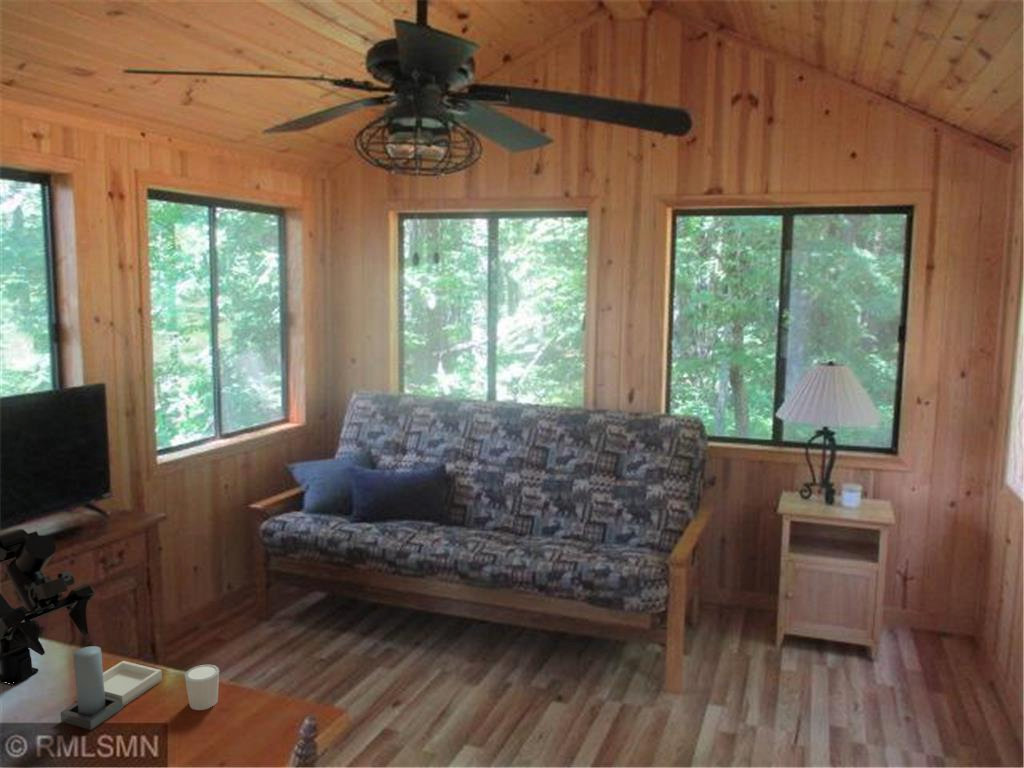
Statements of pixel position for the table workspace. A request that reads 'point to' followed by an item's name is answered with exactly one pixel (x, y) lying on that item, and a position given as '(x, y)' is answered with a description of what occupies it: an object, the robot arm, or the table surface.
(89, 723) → the socket
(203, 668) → the white cup
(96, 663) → the post
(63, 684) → the table surface
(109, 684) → the tray
